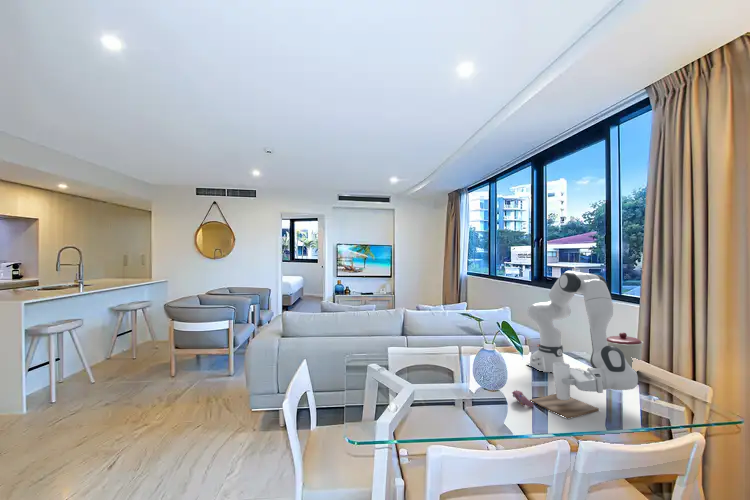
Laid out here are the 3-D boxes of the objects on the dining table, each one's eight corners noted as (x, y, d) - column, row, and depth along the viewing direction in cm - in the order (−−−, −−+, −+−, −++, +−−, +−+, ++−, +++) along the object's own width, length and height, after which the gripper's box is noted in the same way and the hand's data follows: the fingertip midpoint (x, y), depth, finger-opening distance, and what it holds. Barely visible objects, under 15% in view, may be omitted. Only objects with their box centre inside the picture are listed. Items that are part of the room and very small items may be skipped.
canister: (598, 368, 207) (596, 331, 208) (619, 363, 214) (617, 328, 215) (631, 377, 191) (629, 337, 191) (653, 372, 198) (650, 333, 198)
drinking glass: (574, 401, 156) (571, 366, 156) (557, 401, 157) (554, 366, 158) (569, 395, 162) (566, 362, 163) (553, 395, 164) (550, 362, 164)
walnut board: (530, 401, 166) (529, 399, 166) (559, 394, 172) (559, 392, 172) (566, 419, 147) (566, 416, 147) (598, 410, 154) (598, 408, 154)
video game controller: (515, 403, 169) (508, 390, 169) (523, 398, 170) (516, 385, 169) (526, 412, 159) (519, 398, 159) (535, 406, 160) (527, 392, 160)
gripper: (585, 364, 168) (553, 364, 171) (602, 379, 148) (565, 378, 151) (586, 378, 167) (553, 377, 170) (604, 394, 147) (567, 393, 150)
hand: (559, 378), depth 160 cm, fingers closed on drinking glass, 6 cm apart
